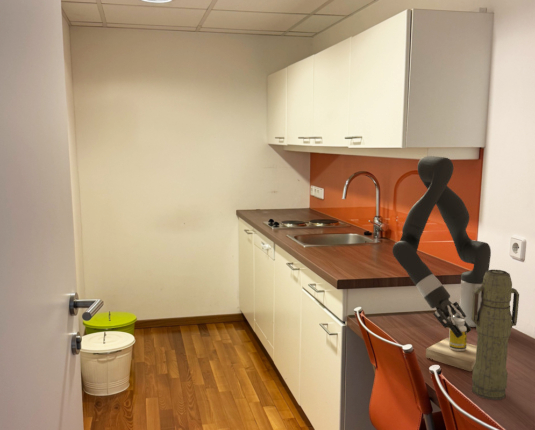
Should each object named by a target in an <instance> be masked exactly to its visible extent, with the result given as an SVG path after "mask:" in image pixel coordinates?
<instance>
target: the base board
mask: <svg viewBox="0 0 535 430" xmlns="http://www.w3.org/2000/svg"><path fill="white" fill-rule="evenodd" d="M425 349H426V350H425V358H426V359H429V358H430V359H429V360H432V359H433V361H435V362H439V363H441V364H445V365H449V366H452V367H455V368H458V369H461V370H465V371H468V372H473V367H474V365H475V363H476V349H477V345H475V344H470V343H467V345H466V350H464V351H455V350H452V349H450V348H449V337H446V338H444V339H442V340H441V341H438V342H436V343H434V344H433V345H431V346H429V347H427V348H425Z"/></svg>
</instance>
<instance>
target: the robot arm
mask: <svg viewBox="0 0 535 430" xmlns="http://www.w3.org/2000/svg"><path fill="white" fill-rule="evenodd" d="M453 163H454V162H453V161H452V160H451V159H450V158H448V157H445V156H443V157H442V156H434V155H433V156H432V155H426V156H423V157H422V158H420V159H419V161H418V163H417V174H418V176H419V178H420V180H421V182H422V184H423V185H424V186H425V188H426V191H425V192H424V194H423V196H422V197H420V198H419V199H418V200H417V201H416V202H415V203H414V204H413V206H411V209H410V210H409V211H408V213H407V216H406V217H405V221H404V223H403V225H402V233H401V237H400V240H399V241H397V242H395V243H394V244H393V246H392V255H393V257H394V259H396V260H397V262H398V263H399V265H400V266H401V267H402V268H403V269H404V270H405V272H406V273H407V275H408V277H409V278H410V279H411V281H412V282H413V284H414V285H415V287H416V288H417V290H418V292H419V293H420V295H421V296H422V298H423V299H424V300H425V301H426V303H427V304H428V305H429V307H430V308H431V309H436V310H435V311H434V312H433V313H432V315H433V316H434V317H435V318H436V319H437V321H438V322H439V323H440V324H441V326H442V327H443V328H444V329H446V328H447V329H448V330H449V329H451V330H452V332H453V333H454V335H455V336H456V337H457V338H459V337H460V336H462V335H463V333H462V332H461V331H460V329H459V328H458V327H457V325H455V322H454V320H453V318H462V319H464V320H465V324H464V326H465V327H466V328H467V334H468V333H470V332H471V331H472V328H476V324H475V323H474V322H473V321H472V320H471V318H472V305H473V292H474V291H475V289H476V288H477V287H481V286H482V280H483V277H484V275H485V273H486V271H489V270H490V265H491V264H490V263H491V256H492V254H491V253H492V250H491V246H490V244H489V243H487V242H484V241H482V240H481V241H479V240H474V239H471V238H470V237H469V235H468V232H467V231H466V230H467V227H468V225H469V222H470V213H469V211H468V209H467V207H466V204H465V202H464V201H463V199H462V198H461V197H460V196H459V195H458V194H457V193H456V192H455V191H454V190H452V188H450V187H449V186H448V184H449V183H450V180H451V179H452V176H453V173H454V164H453ZM435 206H436V207H437V209H438V211H439V213H440V216H441V218H442V220H443V221H444V223H445V225H446V227H447V229H448V232H449V234H450V236H451V239H452V241H453V244H454V246H455V250H456V253H457V256H458V257H459V259H460V261H462V262H464V263H467V264H471V265H473V267H472V270H469V271H464V272H462V273H461V277H460V288H459V289H460V291H459V303H458V302H457V301H454V302H453V303H452V302H451V301H450V298H451V294H450V293H449V292H448V290H447V289H446V288H445V286H444V285H443V284H442V283H441V281H440V280H439V279H438V278H437V277H436V276H435V274H434V273H433V272H432V271H431V269H430V268H429V266H428V265H427V264H426V263H425V262H424V261H423V260H422V259H421V257H420V256H419V254H418V253H417V252H418V249H419V245H420V241H421V237H422V235H423V233H424V231H425V227H426V225H427V223H428V220H429V218H430V216H431V213H432V211H433V209H434V207H435ZM481 299H482V298H481V291H480V293H479V297H478V310H479V308H480V302H481ZM477 312H478V311H477ZM471 327H472V328H471Z"/></svg>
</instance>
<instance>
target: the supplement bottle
mask: <svg viewBox="0 0 535 430" xmlns="http://www.w3.org/2000/svg"><path fill="white" fill-rule="evenodd" d="M453 320H454V322H455V325H457V327H458V328H459V329H460V331H461V332H462V333H463V335H462V336H460V337H459V338H457V337H456V336H455V335H454V333H453V332H452V330H451V329H449V328H448V330H449V332H448V338H449V348H450V349H452V350H455V351H464V350H466V345H467V335H468V333H467V328H466V327H465V326H464V324H465V320H464V319H462V318H453Z"/></svg>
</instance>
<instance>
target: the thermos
mask: <svg viewBox="0 0 535 430" xmlns="http://www.w3.org/2000/svg"><path fill="white" fill-rule="evenodd" d="M480 291H481V298H482V299H481V302H480V308H479V310H478V297H479V293H480ZM512 294H513V298H512ZM511 301H512V310H511V305H510V304H511ZM519 302H520V293H519V292H518V290H517V289H516V288H514V287H513V280H512V278H511V274H510V273H509V272H507V271H505V270H501V269H489V271H486V273H485V275H484V277H483V280H482V286H481V287H477V288H476V289H475V291H474V292H473V305H472V318H471V320H472V321H473V322H474V323H475V324H476V327H475V330H476V333H477V335H476V336H477V338H476V346H477V349H476V363H475V365H474V367H473V370H472V376H471V377H472V378H471V382H472V386H471V391H472V393H473V394H474V395H476V396H478V397H480V398H483V399H487V400H492V401H498V400H503V399H504V398H505V397H506V389H507V385H508V375H509V374H508V370H507V360H508V359H507V358H508V349H509V348H508V347H509V338H510V336H511V333H512V329H513V327H514V326H517V322H518V315H519V304H520V303H519ZM477 311H478V312H477Z"/></svg>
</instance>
